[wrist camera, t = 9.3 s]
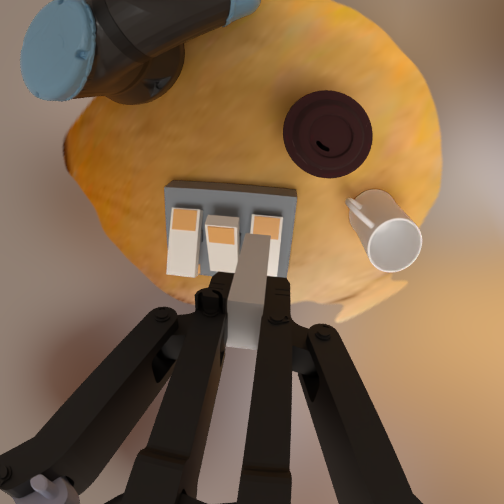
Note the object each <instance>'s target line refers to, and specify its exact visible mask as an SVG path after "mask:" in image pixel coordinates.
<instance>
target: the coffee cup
mask: <svg viewBox="0 0 504 504" xmlns="http://www.w3.org/2000/svg"><path fill="white" fill-rule="evenodd" d="M372 136H373V135H372V127H371V123H370V120H369V118H368V116H367V114H366V112H365V110H364V109H363V108H362V107H361V106H360V105H359V103H357V102H356V101H355V100H354V99H352V98H351V97H349V96H347V95H345V94H343V93H340V92H336V91H328V90H324V91H317V92H313V93H310V94H307V95H305V96H304V97H302V98H300V99H299V100H298V101H297V102H296V103H295V104H294V105H293V106H292V107H291V108H290V110H289V112H288V113H287V116H286V118H285V122H284V127H283V139H284V144H285V147H286V150H287V152H288V154H289V156H290V157H291V159H292V160H293V161H294V162H295V164H296V165H297V166H298V167H300V168H301V169H302V170H304V171H305V172H307V173H309V174H311V175H314V176H317V177H321V178H337V177H342V176H345V175H347V174H349V173H351V172H353V171H354V170H356V169H357V168H358V167H359V166H360V165H361V164H362V163H363V162H364V161H365V159H366V158H367V156H368V154H369V152H370V149H371V145H372Z"/></svg>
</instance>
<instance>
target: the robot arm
mask: <svg viewBox="0 0 504 504" xmlns="http://www.w3.org/2000/svg"><path fill="white" fill-rule="evenodd" d="M260 3H261V0H53V1H52V2H50V3H48V4H47V5H46V6H45V7H44V8H43V9H42V10H40V12H39V13H38V14H37V15H36V16H35V18H34V19H33V21H32V22H31V24H30V26H29V28H28V30H27V32H26V35H25V37H24V42H23V47H22V50H21V58H20V60H21V61H20V65H21V73H22V76H23V80H24V82H25V85H26V86H27V88H28V89H29V91H30V92H31V93H32V94H33V95H35V96H36V97H37V98H40V99H43V100H47V101H67V100H70V99H76V98H84V97H95V96H106V97H108V98H109V99H111V100H113V101H115V102H117V103H120V104H126V105H135V104H143V103H148V102H150V101H153V100H155V99H157V98H159V97H160V96H162V95H163V94H164V93H166V92H167V91H168V90H169V89H170V88H171V87H172V85H173V84H174V83H175V81H176V80H177V78H178V76H179V74H180V72H181V70H182V67H183V63H184V45H183V43H184V42H186V41H189V40H191V39H193V38H195V37H197V36H200V35H202V34H204V33H206V32H209V31H211V30H214V29H216V28H218V27H221V26H222V27H225V26H227V25H229V24H230V23H231V22H233V21H235V20H237V19H240V18H242V17H245V16H247V15H250V14H252V13H253V12H255V11H256V9H257V8H258V7H259V5H260ZM270 240H271V236H270V235H260V234H250V233H246V234H245V237H244V241H243V244H242V248H241V252H240V255H239V259H238V263H237V266H236V270H235V273H229V272H220V271H218V272H217V273H216V274H215V275H213V276H212V279H211V282H210V284H209V287H208V288H204V289H201V290H199V291H197V293H196V294H195V308H196V310H195V312H193V313H191V314H185V315H177V313H176V311H175V310H174V309H172V308H168V307H158V308H155V309H153V310H152V311H150V312H149V313H148V314H147V315H146V316H145V317H144V318H143V320H142V321H140V323H139V324H138V325H137V326H136V327H135V328H134V329H133V330H132V331H131V332H130V333H129V334H128V335H127V336H126V337H125V338H124V339H123V340H122V341H121V343H120V344H118V346H117V347H116V348H115V349H114V350H113V351H112V352H111V353H110V354H109V355H108V356H107V357H106V358H105V359H104V361H102V363H101V364H100V365H99V366H98V367H97V368H96V369H95V370H94V371H93V372H92V373H91V374H90V375H89V377H88V378H87V379H86V380H85V381H84V382H83V383H82V384H81V385H80V386H79V388H78V389H77V390H76V391H75V392H74V393H73V394H72V395H71V396H70V398H68V400H67V401H66V402H65V403H64V404H63V405H62V406H61V407H60V408H59V410H58V411H57V412H56V413H55V414H54V415H53V416H52V418H51V419H50V420H49V421H48V422H47V423H46V424H45V425H44V426H43V428H42V429H41V430H40V431H39V432H38V433H37V435H36V436H35V437H33V438H32V439H30V440H28V441H26V442H24V443H22V444H21V445H19V446H17V447H15V448H13V449H11V450H9V451H8V452H6V453H4V454H2V455H0V489H1V490H2V491H4V492H5V493H7V494H8V495H10V496H11V497H12V498H13V499H14V501H15V503H16V504H80V500H79V496H78V495H80V494H81V493H82V492H84V491H85V490H86V489H87V488H88V487H89V486H90V485H91V484H92V483H93V482H94V481H95V479H96V478H97V477H98V476H99V474H100V473H101V472H102V470H103V469H104V467H105V466H106V465H107V463H108V462H109V461H110V459H111V458H112V457H113V455H114V454H115V452H116V451H117V450H118V448H119V447H120V445H121V444H122V443H123V441H124V440H125V439H126V437H127V436H128V435H129V433H130V432H131V430H132V429H133V428H134V426H135V425H136V423H137V422H138V421H139V419H140V418H141V417H142V415H143V414H144V413H145V411H146V410H147V408H148V407H149V405H150V404H151V403H152V401H153V400H154V399H155V397H156V396H157V395H158V393H159V392H160V390H161V389H162V388H163V386H164V385H165V383H166V382H167V381H168V379H169V378H170V376H171V378H170V381H169V383H168V386H167V389H166V392H165V394H164V397H163V400H162V403H161V406H160V409H159V412H158V414H157V417H156V420H155V423H154V426H153V429H152V432H151V435H150V438H149V441H148V444H147V446H146V448H145V449H142V450H140V452H139V453H138V455H137V457H136V459H135V462H134V465H133V468H132V471H131V474H130V477H129V480H128V483H127V486H126V489H125V492H124V493H123V494H121V495H118V496H117V497H115V498H113V499H112V500H110V501H108V502H106V503H104V504H207V503H204V502H201V501H199V500H197V499H196V496H197V484H198V477H199V473H200V468H201V464H202V459H203V454H204V450H205V445H206V441H207V436H208V431H209V427H210V422H211V418H212V413H213V408H214V404H215V399H216V395H217V390H218V386H219V381H220V376H221V372H222V367H223V363H224V358H225V346H226V342H227V346H228V347H236V348H244V349H253V350H257V358H256V366H255V375H254V382H253V390H252V397H251V405H250V413H249V420H248V428H247V435H246V443H245V450H244V457H243V465H242V471H241V477H240V484H239V491H238V498H237V502H234V503H223V504H291V487H292V486H291V485H292V477H291V473H290V469H289V464H290V439H291V405H292V403H291V402H292V371H295V372H298V376H299V380H300V383H301V386H302V389H303V392H304V395H305V399H306V402H307V405H308V408H309V410H310V414H311V417H312V420H313V424H314V427H315V430H316V433H317V436H318V439H319V443H320V446H321V449H322V451H323V455H324V458H325V462H326V465H327V468H328V471H329V474H330V477H331V481H332V484H333V487H334V490H335V493H336V497H337V500H338V503H339V504H423V503H421V501H420V500H419V499H418V498H417V497H416V496H415V495H414V494H413V493H412V490H411V488H410V485H409V483H408V481H407V478H406V476H405V474H404V471H403V469H402V467H401V465H400V462H399V460H398V458H397V456H396V453H395V451H394V449H393V446H392V444H391V442H390V440H389V438H388V435H387V433H386V431H385V429H384V427H383V425H382V422H381V420H380V418H379V416H378V414H377V412H376V410H375V408H374V405H373V403H372V401H371V399H370V397H369V395H368V392H367V390H366V388H365V386H364V384H363V382H362V380H361V378H360V376H359V374H358V372H357V370H356V368H355V366H354V364H353V361H352V360H351V357H350V356H349V353H348V352H347V349H346V347H345V345H344V343H343V342H342V339H341V337H340V335H339V333H338V332H337V331H336V329H335V328H333V327H332V326H330V325H327V324H315V325H313V326H311V327H310V328H309V329H308V328H305V327H302V326H300V325H298V324H296V323H295V322H294V321H293V320H292V318H291V315H290V283H289V281H288V280H287V278H284V277H274V276H267V270H268V260H269V250H270Z"/></svg>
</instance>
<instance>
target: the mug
mask: <svg viewBox="0 0 504 504" xmlns="http://www.w3.org/2000/svg"><path fill="white" fill-rule="evenodd" d="M345 203H346V205H347V206H348V207H349V209H350V211H349V220H350V223H351V226H352V227H353V229H354V230H355V231H356V232H357V234H358V236H359V238H360V241H361V243H362V245H363V247H364V249H365V251H366V253H367V255H368V257H369V259H370V261H371V263H372V264H373V265H374V266H375V267H376V268H377V269H379V270H381V271H384V272H397V271H400V270H403V269H405V268H407V267H408V266H410V265H411V264H412V263H413V262H414V261H415V260H416V258H417V257H418V255H419V253H420V250H421V247H422V235H421V232H420V230H419V228H418V227H417V225H416V224H415V223H414V222H413V221H412V220H411V219H410V218H409V216H408V215H407V214H406V213H405V212H404V211H403V210H402V209H401V208H400V207H399V206H398V205H397V204H396V203H395V201H394V199H393V198H392V196H391V195H389V194H388V193H387V192H385V191H382V190H378V189H371V190H367V191H365V192H363V193H361V194H360V195H358V196H357V197H356V198H355V200H354V199H352V198H350V197H348V198H347V199H346V200H345Z"/></svg>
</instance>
